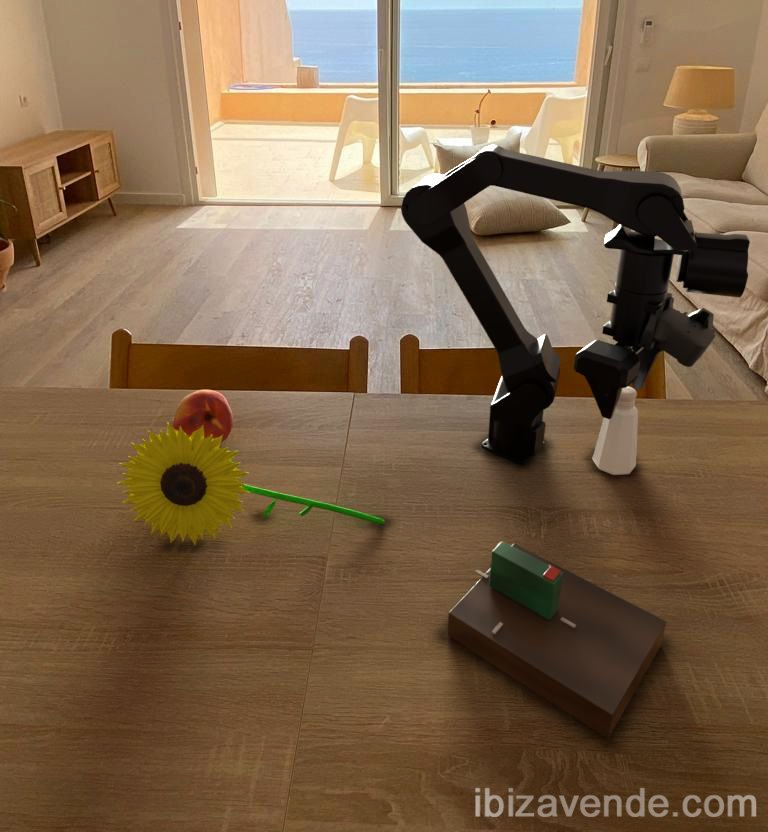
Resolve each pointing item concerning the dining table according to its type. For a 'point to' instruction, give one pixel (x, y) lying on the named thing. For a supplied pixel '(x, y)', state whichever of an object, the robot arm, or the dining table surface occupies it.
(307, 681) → the dining table surface
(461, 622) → the dial panel
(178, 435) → the decorative plant
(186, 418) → the fruit
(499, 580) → the pointer knob
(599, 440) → the pepper shaker
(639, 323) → the robot arm
